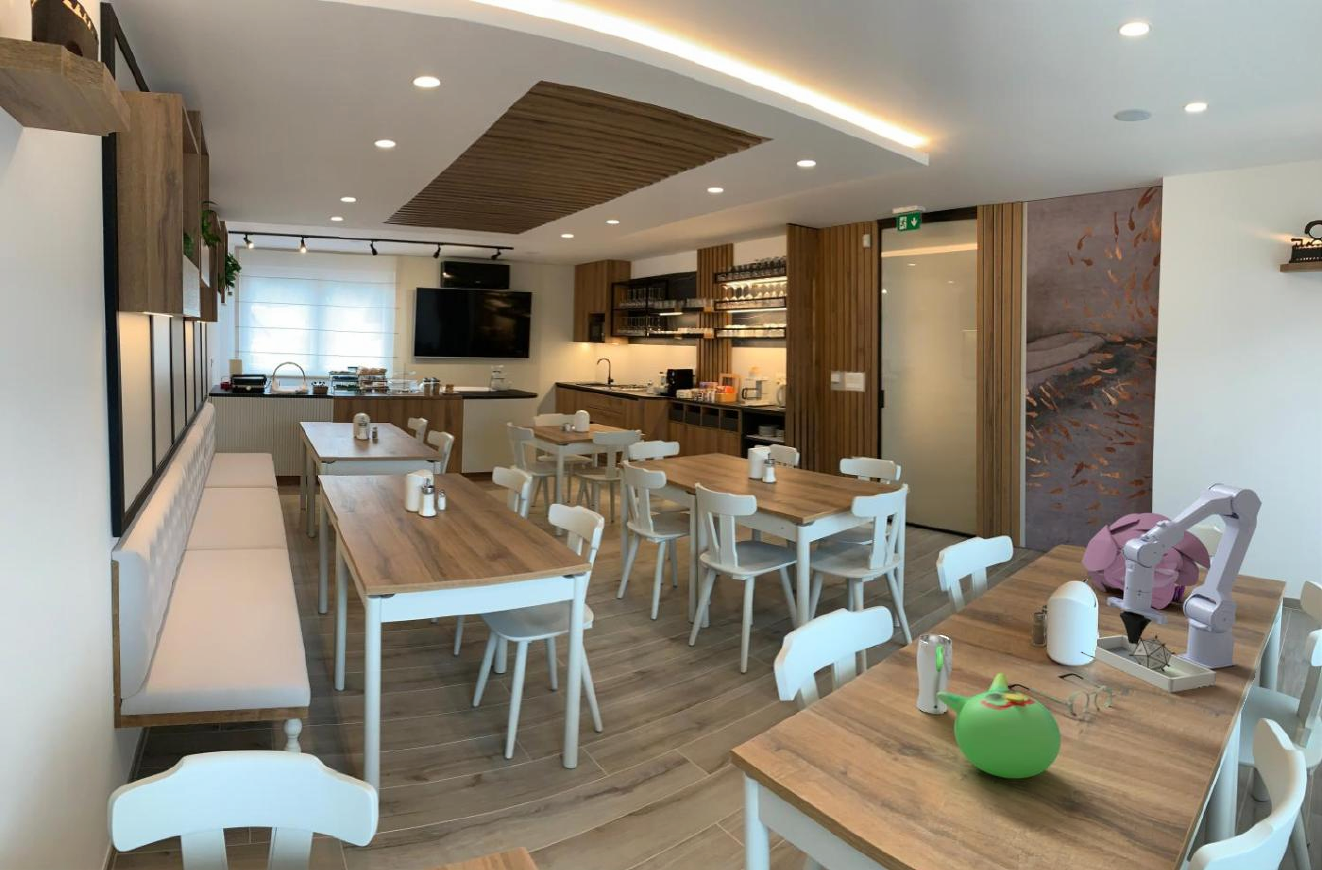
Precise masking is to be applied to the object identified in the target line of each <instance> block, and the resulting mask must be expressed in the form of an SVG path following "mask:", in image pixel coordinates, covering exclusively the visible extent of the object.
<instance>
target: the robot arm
mask: <svg viewBox="0 0 1322 870" xmlns="http://www.w3.org/2000/svg"><path fill="white" fill-rule="evenodd" d="M1262 504H1263V502H1262V501H1261V499H1260V498H1259V496H1258V494H1257V492H1255V491H1254V490H1252V489H1249V488H1248V489H1247V488H1241V487H1236V486H1231V485H1226V484H1224V483H1219V482H1216V483H1212V484H1210V485H1209V486H1208V487H1207V488H1205V489H1204V490H1201V492H1200V496H1199V498H1197V499H1196V500H1195V501H1194V502H1192V504H1190V505H1189V506H1188V507H1187V508H1185V509H1184V510H1183V511H1181V513H1180V514H1178V515H1177V516H1175V518H1174V519H1173V520H1171V521H1168V520H1164V521H1159V522H1158V523H1156V525H1157V526H1155V527H1154V528H1152V529H1151V530H1149V531H1148V532H1147V533H1145V534H1143V535H1141V537H1140V538H1139V539H1137V538H1135V539H1131V540H1129V541H1128V542H1127V543H1126V544H1125V545H1124V548H1123V549H1122V555H1123V557H1124V558H1125V565H1126V576H1125V587H1124V591H1123V599H1122V598H1117V597H1115V596H1110V597H1107V602H1106V604H1107V606H1109V607H1114V608H1118V609H1120V610H1122V611H1123V612H1120V613H1119V617H1120V619H1121V621H1122V622H1123V625H1124V628H1125V631H1126V635H1127V636H1126V637H1128V641H1129V643H1131V644H1135V642H1136V643H1138V642H1140V639H1139V637H1142V634H1143V632H1144V631H1145V629H1146V628H1147V626H1148V625H1149V624H1150V623H1151V622H1152V621H1153V622H1156V624H1158V625H1168V622H1169V620H1168V618H1169V616H1168V615H1166V614H1164V613H1162V612H1159V611H1158V610H1156V609H1155V608H1152V606H1151V600H1152V589H1153V578H1154V567H1155V565H1157V564H1159V563H1160V561H1161V559H1162V556H1163V555H1164V554H1165V552H1166V551H1167V550H1168V549H1170V548H1171V547H1173V546H1174V545H1175V544H1177V543H1178V542H1180V541H1181V540H1182V539H1183V538H1184V531H1188V530H1189V529H1191V528H1193V527H1194V526H1195V525H1197V524H1199V523H1201V522H1203V520H1206V519H1207V518H1209V517H1210V516H1213V515H1218V516H1219V517H1220V518H1221V519H1222V521H1223V522H1224V524H1225V528H1224V530H1223V533H1222V536H1221V538H1220V541H1219V543H1218V546H1217V548H1216V552H1215V554H1214V556H1213V559H1212V562H1211V563H1210V564H1211V567H1210V569H1209V570H1208V572H1207V575H1206V577H1205V579H1204V582H1203V584H1202V585H1199V586H1197V587H1194V588H1193V589H1192V591H1191V593H1190V595H1189V596H1188V597H1187V598H1186V599H1185V600H1184V601H1183V602H1184V603H1183V604H1182V610H1183V613H1184V615H1185V616H1186V617H1187V622H1188V623H1189V625H1188V634H1187V645H1186V646H1187V647H1186V653H1181V654H1178V655H1177V657H1179V658H1182V659H1184V660H1187V661H1189V662H1192V663H1194V664H1197V665H1199V666H1202V667H1204V668H1207V669H1209V670H1212V669H1217V668H1225V667H1232V665H1233V666H1236V665H1237V664H1236V662H1235V661H1233V657H1234V648H1235V636H1234V634H1233V632H1232V631H1231V628H1232V627H1233V626H1234V625H1235V623H1236V610H1237V608H1238V604H1237V602H1236V601H1235V599H1234V597H1233V596H1232V594H1231V593H1232V590H1233V588H1234V585H1235V582H1236V580H1237V577H1238V575H1239V572H1240V569H1241V567H1242V565H1243V562H1244V560H1245V557H1246V554H1247V552H1248V549H1249V546H1250V545H1251V544H1250V543H1251V541H1252V539H1253V536H1254V534H1255V531H1256V528H1257V524H1258V520H1257V519H1258V514H1259V512H1260V509H1261V507H1262Z"/></svg>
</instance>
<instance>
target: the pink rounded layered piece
mask: <svg viewBox="0 0 1322 870" xmlns="http://www.w3.org/2000/svg"><path fill="white" fill-rule="evenodd" d="M1164 520H1168V521H1172V520H1171V519H1170V518H1169V517H1167V516H1165V515H1163V514H1160V513H1154V512H1143V513H1142V512H1141V513H1130V514H1129V513H1128V514H1127V515H1124V516H1122V517H1120V518H1118V519H1117V520H1116V521H1115V522H1113V524H1111V525H1110V526H1108V524H1106V525H1105V526H1103V527H1102V528H1101V530H1100V531H1098V532H1097V533H1096V534H1095V535H1094V536H1093V537H1092V538H1091V539H1090V540H1089V542H1088V544H1087V547H1086V548H1085V552H1084V554H1083V557H1082V559H1081V562H1080V564H1081V565H1083V567H1084V568H1085V569H1086V570H1087V571H1086V574H1087V576H1090V577H1091V579H1092V582H1093V585H1094V586H1095V587H1096V588H1097V589H1099V590H1101V591H1103V592H1105V593H1106V592H1107V589H1106V587H1105V585H1106V586H1107V587H1110V588H1112V589H1120V590H1122V591H1123V592H1124V587H1125V576H1126V565H1125V558H1124V557H1123V555H1122V549H1123V548H1124V545H1125V544H1126V543H1127V542H1128V541H1129V540H1131V539H1135V538H1137V539H1139V538H1140V537H1141V535H1143V534H1145V533H1147V532H1148V531H1149V530H1151V529H1152V528H1154V527H1155V526H1157V525H1156V523H1158V522H1159V521H1164ZM1197 564H1198V565H1200V566H1202V567H1203V568H1205V569H1206V570H1208V571H1209V569H1210V567H1211V564H1212V563H1211V559H1210V555H1209V551H1208V549H1207V547H1206V546H1205V544H1204V543H1203V541H1202V540H1201V539H1200V538H1199V537H1197V536H1196V535H1195V534H1193V532H1190V531H1188V530H1186V531H1184V538H1183V539H1182V540H1181V541H1180V542H1178V543H1177V544H1175V545H1174V546H1173V547H1171V548H1170V549H1168V550H1167V551H1166V552H1165V554H1164V555H1163V556H1162V559H1161V561H1160V563H1159V564H1157V565H1155V567H1154V578H1153V589H1152V600H1151V607H1153V609H1155V610H1156V609H1157V610H1162V609H1164V608H1166V607H1167V606H1168V605H1169V604H1174V605H1184V602H1185V601H1182V598H1183V596H1184V593H1185V591H1186V587H1191V586H1195V585H1196V584H1197V583H1198V582H1199V575H1200V570H1199V567H1198V565H1197ZM1175 585H1176V586H1175Z"/></svg>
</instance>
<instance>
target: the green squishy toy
mask: <svg viewBox="0 0 1322 870" xmlns="http://www.w3.org/2000/svg"><path fill="white" fill-rule="evenodd" d="M1007 682H1008V681H1007V678H1006V676H1005V674H1004V673H1002V672H998V673H997V674H996V676H995V677H994V678H993V680H992V683H991V685H990V686H989V689H988V691H984V692H981V693H978V694H975V695H974V696H971V697H968V696H967V697H966V696H963V695H959V694H953V693H950V692H946V693H944V692H939V693H937V695H936V696H937V698H938V699H939V700H941V701H942V702H943V703H944V704H946V705H947V708H948V707H949V709H951V710H952V711H953V712H954V713H956V716H955V719H954V726H953V729H954V730H953V731H954V737H955V739H956V743H957V745H958V748H959V749H960V751H961V753H962V754H963V755H964V756H965V758H966V759H967V760H968V762H970V763H971V764H972V765H974V766H975V767H976V768H978V770H979V769H980V770H981V771H983V772H985V773H986V774H990V775H992V776H995V777H999V778H1000V777H1001V778H1004V779H1005V778H1006V779H1025V778H1030V777H1034V776H1036V775H1039V774H1041V773H1042V772H1044V771H1045V770H1047V769H1049V767H1050V766H1052V764H1053V763H1054V762H1055V760H1056V759H1057V757H1058V755H1059V752H1060V750H1061V745H1062V744H1061V742H1062V740H1061V739H1062V737H1061V731H1060V728H1059V725H1058V723H1057V721H1056V719H1055V717H1054V716H1053V714H1052V713H1051V712H1050V711H1049V709H1048V708H1047V707H1046V706H1045V705H1043V704H1042V703H1041V702H1039V701H1038V700H1036V699H1034V698H1033V697H1030V696H1028V695H1026V694H1023V693H1020V692H1017V691H1013V690H1009V688H1008V686H1009V685H1008V683H1007Z"/></svg>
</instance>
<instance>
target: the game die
mask: <svg viewBox="0 0 1322 870" xmlns="http://www.w3.org/2000/svg"><path fill="white" fill-rule="evenodd" d="M1135 644H1136V645H1137V646H1136V648H1135V650H1134V652H1133V654H1129V656H1133V657H1134V658H1135V659H1136V660H1137V661H1138V662H1139V665H1142V666H1144V667H1146V668H1148V669H1151V670H1158V669H1162V671H1164V672H1165V670H1164V669H1163V668H1164V667H1165V666H1166V665H1167V666H1168V667H1170V665H1169V664H1168V662H1169V659H1170V657H1171V655H1176V654H1177V653H1176V652H1171V651H1170V650H1169V649H1168V648H1167V647H1166V643H1165V642H1163V643H1162V642H1161V641H1160V640H1159V639H1158V635H1157V634H1156V635H1154V638H1142V636H1141V637H1139V643H1136V642H1135Z"/></svg>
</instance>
